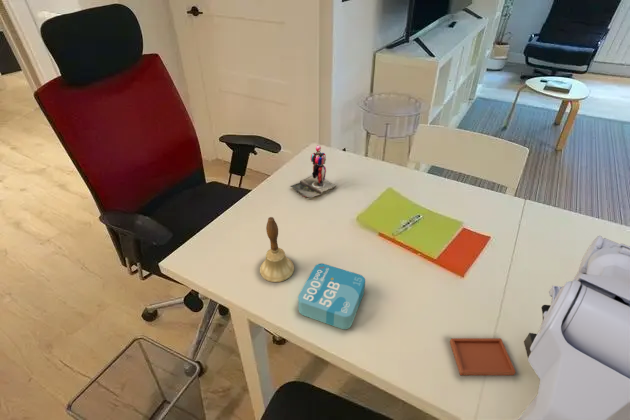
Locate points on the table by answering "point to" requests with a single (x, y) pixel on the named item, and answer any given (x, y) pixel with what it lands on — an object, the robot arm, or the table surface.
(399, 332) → the table surface
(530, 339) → the remote
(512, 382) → the table surface
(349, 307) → the data package
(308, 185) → the statue
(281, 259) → the hand bell
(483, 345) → the dish
